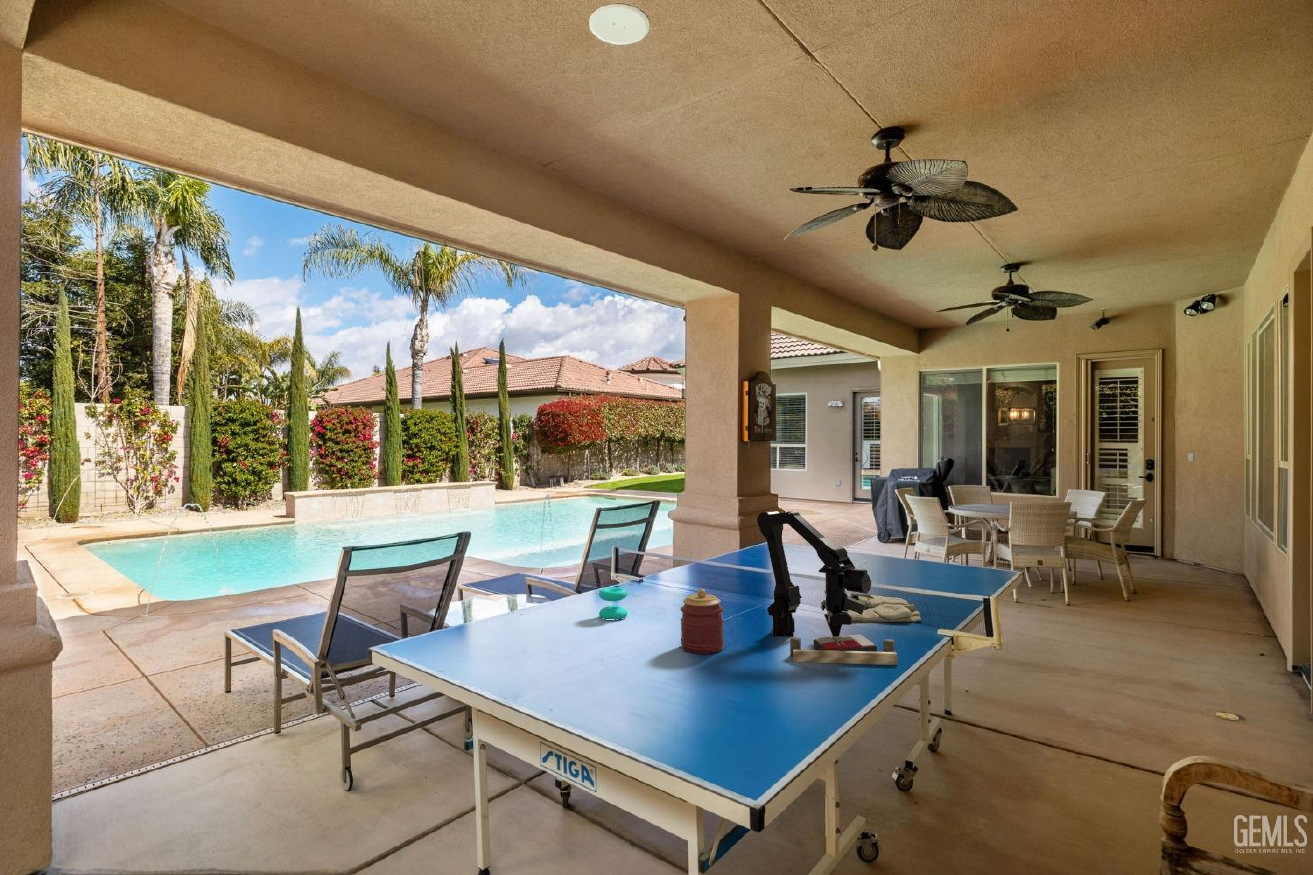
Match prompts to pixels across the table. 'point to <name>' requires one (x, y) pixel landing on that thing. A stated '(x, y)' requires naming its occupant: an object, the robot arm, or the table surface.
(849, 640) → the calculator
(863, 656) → the seat bracket
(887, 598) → the pair of gloves
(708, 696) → the table surface
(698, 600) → the canister
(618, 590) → the donuts
